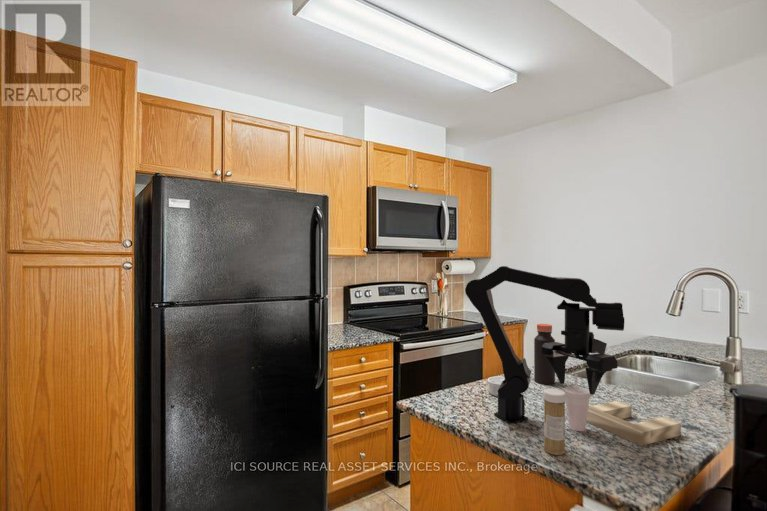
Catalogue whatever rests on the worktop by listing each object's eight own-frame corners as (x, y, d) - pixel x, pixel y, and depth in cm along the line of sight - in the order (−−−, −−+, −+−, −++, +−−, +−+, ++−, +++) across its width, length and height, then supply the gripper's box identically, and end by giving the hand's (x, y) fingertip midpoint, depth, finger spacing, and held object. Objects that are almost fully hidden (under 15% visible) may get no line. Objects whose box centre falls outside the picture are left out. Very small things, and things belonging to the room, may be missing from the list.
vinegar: (557, 385, 138) (557, 326, 138) (536, 384, 139) (536, 326, 139) (552, 379, 144) (552, 323, 144) (532, 378, 145) (532, 323, 146)
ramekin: (486, 396, 126) (486, 382, 126) (488, 388, 135) (488, 375, 135) (516, 399, 124) (516, 385, 124) (516, 390, 132) (516, 377, 132)
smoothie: (559, 428, 102) (559, 373, 103) (569, 421, 107) (569, 368, 107) (586, 436, 98) (585, 378, 98) (595, 428, 102) (594, 373, 103)
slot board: (641, 445, 93) (641, 432, 93) (580, 419, 108) (580, 408, 108) (680, 435, 98) (680, 423, 98) (617, 411, 114) (617, 400, 114)
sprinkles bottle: (548, 444, 93) (548, 386, 94) (568, 451, 90) (568, 391, 90) (540, 451, 90) (540, 391, 90) (561, 458, 87) (561, 396, 87)
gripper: (633, 331, 97) (633, 396, 97) (570, 320, 114) (570, 375, 114) (600, 334, 93) (600, 402, 93) (540, 322, 110) (540, 379, 110)
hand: (576, 388), depth 103 cm, fingers open, 9 cm apart
